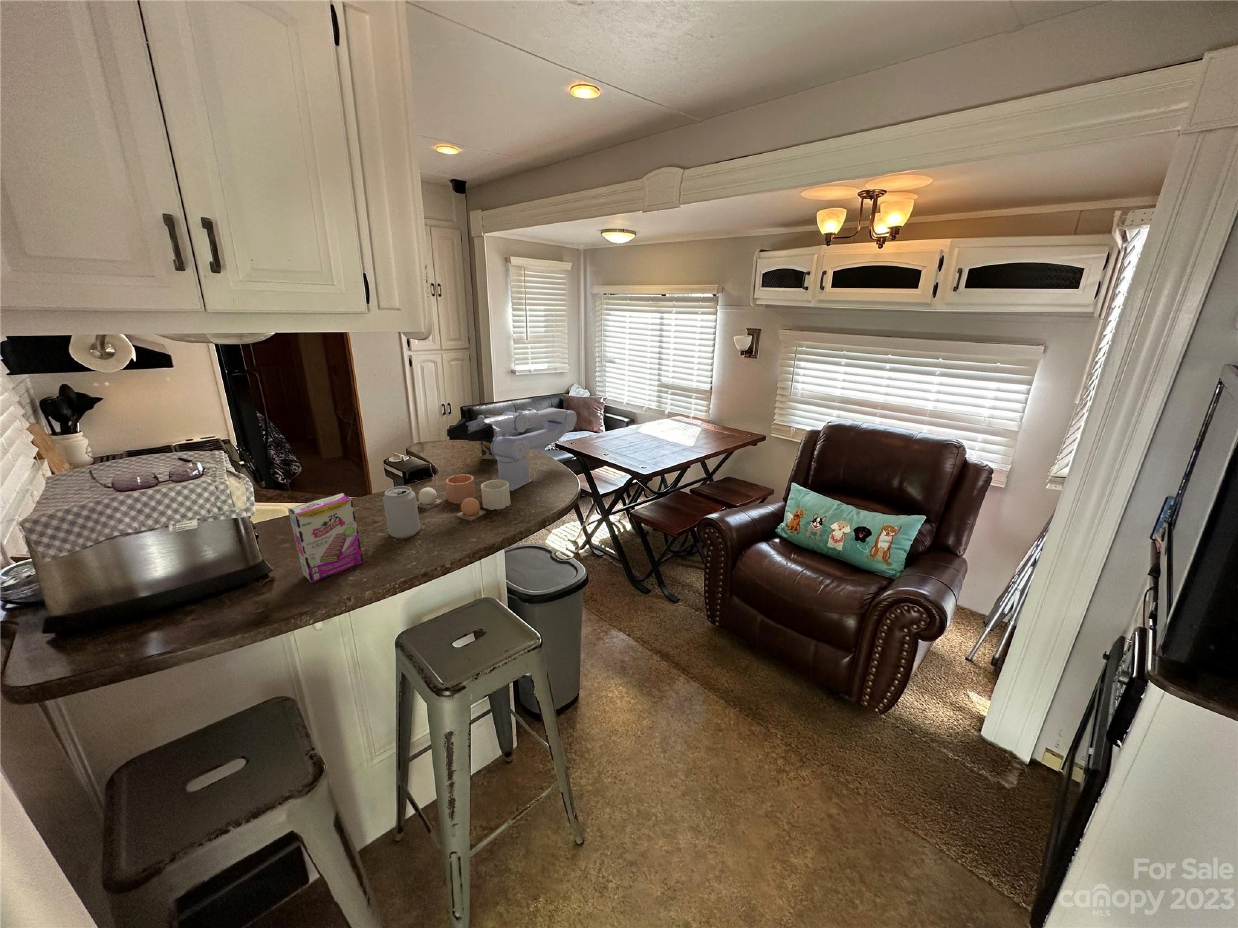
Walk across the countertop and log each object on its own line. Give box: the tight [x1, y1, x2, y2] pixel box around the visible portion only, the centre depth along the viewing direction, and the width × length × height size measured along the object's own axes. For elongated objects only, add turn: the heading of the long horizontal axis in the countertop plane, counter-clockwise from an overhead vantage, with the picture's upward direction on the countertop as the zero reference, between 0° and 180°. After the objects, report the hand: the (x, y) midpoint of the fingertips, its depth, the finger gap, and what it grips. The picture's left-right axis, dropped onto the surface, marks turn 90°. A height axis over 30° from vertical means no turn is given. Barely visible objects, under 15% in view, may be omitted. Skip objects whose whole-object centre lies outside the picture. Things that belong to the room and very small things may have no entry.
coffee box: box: [479, 412, 510, 460], centre depth 176 cm, size 9×6×16 cm
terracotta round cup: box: [445, 473, 476, 504], centre depth 143 cm, size 8×8×6 cm
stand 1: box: [416, 498, 444, 510], centre depth 139 cm, size 5×5×1 cm
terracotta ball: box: [460, 498, 481, 517], centre depth 132 cm, size 5×5×5 cm
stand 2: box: [456, 509, 486, 522], centre depth 133 cm, size 5×5×1 cm
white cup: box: [480, 479, 512, 511], centre depth 139 cm, size 8×8×6 cm
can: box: [382, 485, 421, 540], centre depth 121 cm, size 8×8×12 cm
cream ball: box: [418, 487, 438, 505], centre depth 138 cm, size 5×5×5 cm
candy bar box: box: [287, 492, 364, 584], centre depth 104 cm, size 11×5×16 cm, turn 140°
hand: (457, 435), depth 130 cm, fingers open, 7 cm apart
